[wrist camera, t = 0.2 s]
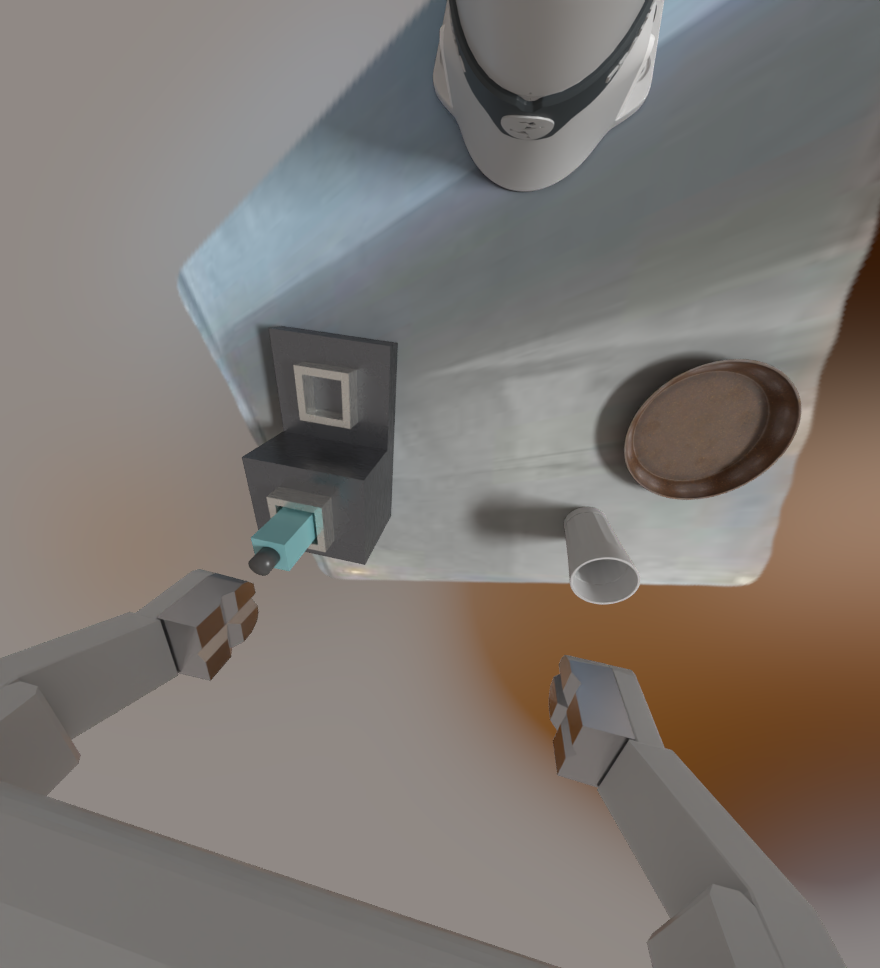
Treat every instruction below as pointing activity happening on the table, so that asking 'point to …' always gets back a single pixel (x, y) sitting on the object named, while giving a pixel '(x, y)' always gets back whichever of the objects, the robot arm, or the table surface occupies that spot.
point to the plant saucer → (712, 429)
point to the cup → (598, 559)
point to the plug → (282, 540)
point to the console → (330, 439)
